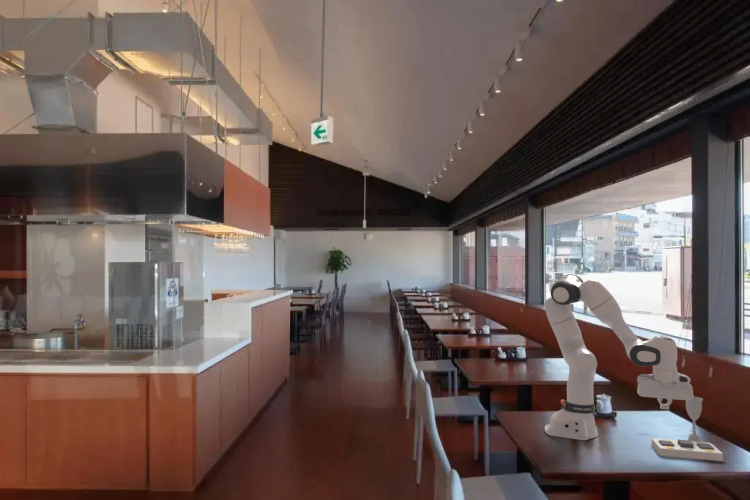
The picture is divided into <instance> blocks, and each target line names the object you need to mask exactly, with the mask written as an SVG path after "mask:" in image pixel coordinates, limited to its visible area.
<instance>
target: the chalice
mask: <svg viewBox="0 0 750 500" xmlns="http://www.w3.org/2000/svg"><path fill="white" fill-rule="evenodd" d="M703 401H704V399H703V398H702V397H698V396H694V395H693V399H692V400H691V401H690V400H685V410H686V412H687V415H688V416H689V418H690V419H691V420H692V423H691V425H692V427H691V429H692V433H689V435H688V437H687V440H690V441H695V442H702V440H701V437H700V435H699V434H698V433H697V432H696V430H697V428H696V426H697V423H696V421H697V420H698V419H699V418H700V416H701V413H702V411H703V406H702V405H703Z"/></svg>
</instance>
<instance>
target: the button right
mask: <svg viewBox="0 0 750 500" xmlns="http://www.w3.org/2000/svg"><path fill="white" fill-rule="evenodd" d="M697 446H698V447H699V448H700V449H710V450H714V448H713V447H712V446H711V445H710V444H703V443H697Z"/></svg>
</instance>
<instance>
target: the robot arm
mask: <svg viewBox="0 0 750 500" xmlns="http://www.w3.org/2000/svg"><path fill="white" fill-rule="evenodd" d="M579 301H580V302H583V303H584V304H585V306H586V307H587V308H588V309H589V310H590V312H591V313H592V314H593V315H594V317H595V318H596V319H597V320H599V321H600V322H601V323H603V324H604V325H606V326H607V327H609V328H610V329H611V330H612V331H613V332H614V334H615V335H616V337H618V338H619V340H620V341H621V343H622V344H623V348H624V350H625V351H624V352H625V354H626V357H627V358H629V360H630V361H631V362H632V363H633V364H634V365H635V366H636V365H637V366H638V367H652V373H651V374H650V373H649V374H647V373H646V374H645V373H641V374H639V375H638V376H637V378H636V382H637V391H636V393H637V394H638V396H640V397H644V398H655V399H656V398H657V399H656V400H657V401H658V403H659V405H660V406H659V408H660V409H661V410H668V411H669V410H670V406H671V404H672V403H673V400H680V401H686V400H690V401H691V400H692V399H693V396H694V388H693V386H692V384H691V378H690V377H689V376H688V375H686V374H684V373H681V372H678V366H677V361H678V346H677V343H676V341H675V340H674V339H672V338H670V337H668V336H664V335H655V336H654V337H652V338H650V339H647V340H644V339H642V338H640V337H638V336H637V335H636V334H635V333H634V331H633V330H632V329H631V328H630V326H629V325H628V324H627V322H626V321H625V320H624V317H623V314H622V308H621V307H620V305H619V303H618V301H617V300H616V298H615V297H614V296H613V295H612V294H611V292H610V291H609V290H608V288H606V287H605V286H604V285H603V284H602V283H601V282H600V281H598V280H596V279H587V280H585V281H583V279H582V278H581V277H580V276H579V275H577V274H574V273H572V274H571V273H569V274H566V275H564V276H563V277H561V278H559V279H558V280H557V281H556V282H554V284H553V285H552V287H551V289H550V296H549V297H548V299H546V300H545V302H544V303H543V304H544V311H545V315H546V317H547V320H548V322H549V324H550V327H551V329H552V332H553V333H554V336H555V339H556V341H557V343H558V346H559V349H560V351H561V354H562V357H563V360H564V362H565V363H566V365H567V366H568V367H569V370H568V371H569V372H568V379H567V382H566V400H565V399H561V400H560V404H561V406H562V408H561V409H560V410H558V411H556V412H555V413H553V414H552V415H551V416H550V418H549V423H548V424H546V425H545V426H544V432H545V433H546V434H547V435H548V436H550V437H559V438H563V439H564V438H565V439H571V440H572V439H573V440H579V441H587V440H590V439H594V438H595V439H596V438H597V437H598V436H599V434H598V431H597V427H596V420H595V415H596V413H595V412H596V406H595V403H594V381H595V377H596V371H597V367H598V361H597V358H596V356H595V354H594V353H593V352H591V350H589V349H587V346H586V345H585V341H584V339H583V336H582V331H581V329H580V327H579V324H578V321H577V319H576V317H575V315H574V313H573V311H572V309H571V304H575V303H578V302H579ZM663 399H666V400H667V402H666V403H663V402H662V401H663Z"/></svg>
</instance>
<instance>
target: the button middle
mask: <svg viewBox="0 0 750 500" xmlns="http://www.w3.org/2000/svg"><path fill="white" fill-rule="evenodd" d="M677 440H678V445H679V446H680V447H686V448H694V444H693V443H692V442H691V440H688V439H680V438H679V439H677Z"/></svg>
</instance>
